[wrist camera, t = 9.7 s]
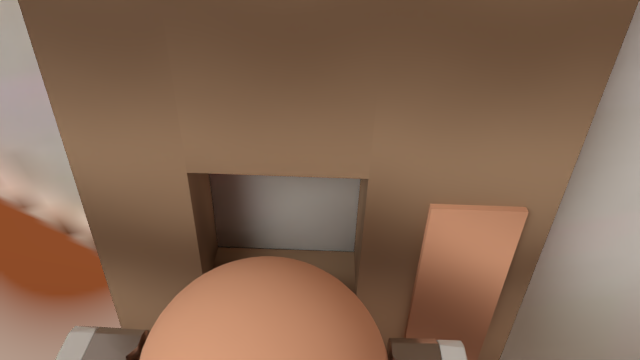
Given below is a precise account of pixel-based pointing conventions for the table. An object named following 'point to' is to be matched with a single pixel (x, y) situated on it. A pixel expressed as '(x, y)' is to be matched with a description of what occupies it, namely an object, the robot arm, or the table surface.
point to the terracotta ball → (265, 316)
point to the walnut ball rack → (332, 138)
